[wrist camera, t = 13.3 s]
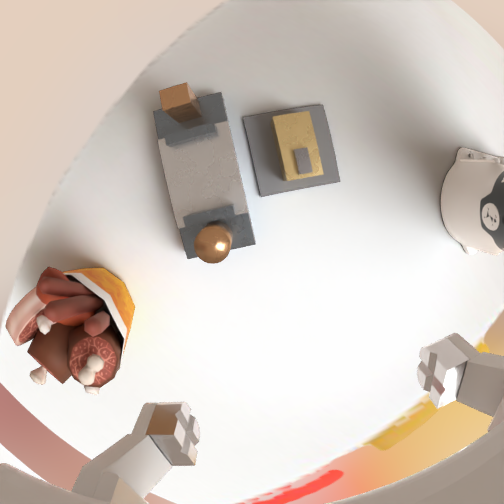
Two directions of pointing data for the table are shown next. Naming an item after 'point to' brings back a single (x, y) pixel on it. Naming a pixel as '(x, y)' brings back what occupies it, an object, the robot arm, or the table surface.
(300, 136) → the tan rectangular block
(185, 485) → the table surface
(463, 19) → the table surface
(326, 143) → the mat
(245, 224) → the hand plane
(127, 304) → the fried chicken
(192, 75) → the table surface
